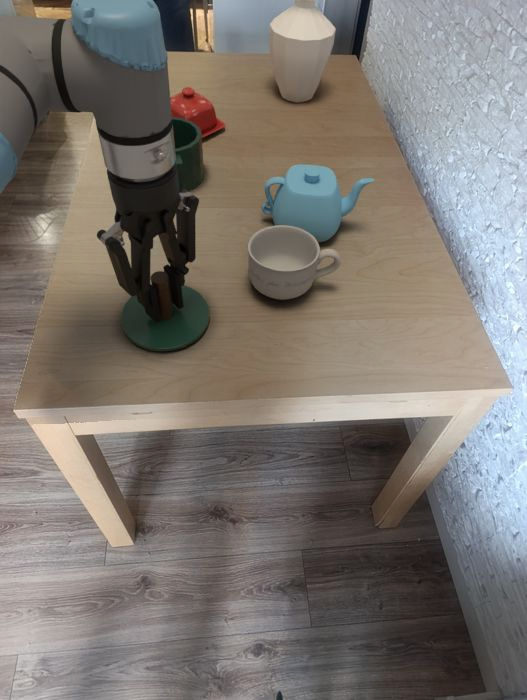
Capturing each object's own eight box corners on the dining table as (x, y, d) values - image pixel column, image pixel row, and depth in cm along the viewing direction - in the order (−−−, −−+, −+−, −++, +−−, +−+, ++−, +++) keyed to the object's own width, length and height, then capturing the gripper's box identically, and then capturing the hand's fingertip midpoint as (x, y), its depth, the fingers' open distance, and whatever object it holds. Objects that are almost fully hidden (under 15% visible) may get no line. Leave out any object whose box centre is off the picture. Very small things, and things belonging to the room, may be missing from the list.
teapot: (377, 199, 77) (261, 189, 77) (363, 252, 86) (258, 243, 86) (372, 154, 85) (266, 145, 85) (360, 206, 93) (263, 198, 93)
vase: (327, 110, 114) (347, -21, 95) (265, 106, 114) (272, -26, 94) (324, 81, 123) (342, -45, 103) (266, 77, 123) (273, -49, 103)
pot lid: (126, 360, 69) (114, 319, 63) (118, 294, 77) (107, 251, 70) (217, 345, 72) (215, 304, 65) (201, 283, 79) (198, 240, 72)
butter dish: (229, 130, 107) (228, 89, 100) (188, 150, 102) (184, 109, 95) (193, 109, 112) (190, 69, 105) (152, 127, 106) (146, 86, 99)
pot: (147, 205, 90) (140, 163, 84) (137, 153, 100) (131, 111, 93) (210, 198, 92) (209, 156, 86) (195, 148, 102) (193, 107, 96)
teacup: (238, 301, 77) (239, 262, 71) (255, 255, 84) (257, 216, 77) (327, 320, 76) (336, 282, 69) (338, 272, 82) (346, 233, 76)
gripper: (94, 212, 49) (132, 355, 67) (221, 152, 56) (224, 296, 75) (54, 177, 52) (101, 323, 70) (180, 125, 59) (192, 270, 78)
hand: (164, 309), depth 73 cm, fingers open, 3 cm apart
